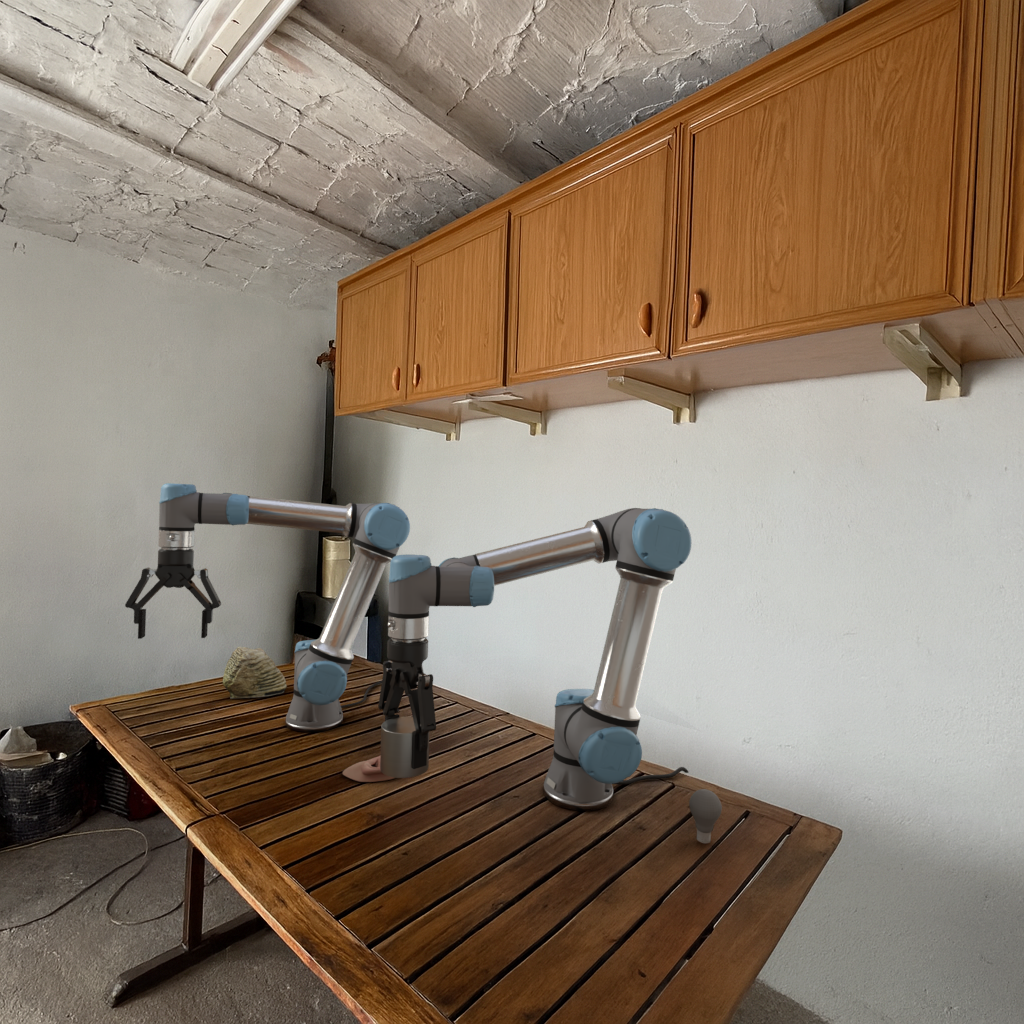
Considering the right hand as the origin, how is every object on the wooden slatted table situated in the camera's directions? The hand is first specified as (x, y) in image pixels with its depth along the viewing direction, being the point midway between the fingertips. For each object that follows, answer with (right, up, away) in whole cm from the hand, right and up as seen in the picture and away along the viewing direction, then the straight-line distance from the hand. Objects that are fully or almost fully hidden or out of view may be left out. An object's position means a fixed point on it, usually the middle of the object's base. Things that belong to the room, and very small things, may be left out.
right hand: (404, 757), depth 118 cm
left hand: (-61, +16, +33) cm, 71 cm away
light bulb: (+57, -18, +4) cm, 60 cm away
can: (0, -2, 0) cm, 2 cm away
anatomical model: (-12, -14, +28) cm, 34 cm away
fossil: (-61, -11, +80) cm, 101 cm away
